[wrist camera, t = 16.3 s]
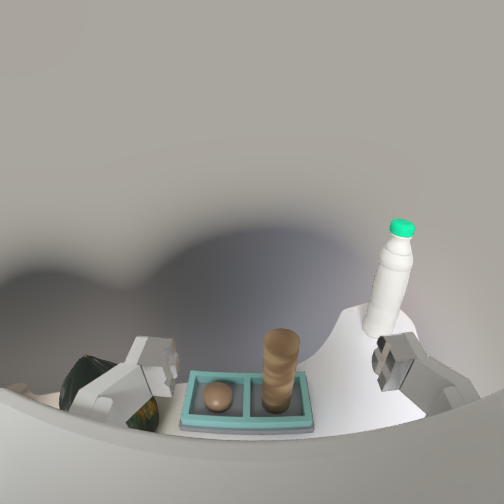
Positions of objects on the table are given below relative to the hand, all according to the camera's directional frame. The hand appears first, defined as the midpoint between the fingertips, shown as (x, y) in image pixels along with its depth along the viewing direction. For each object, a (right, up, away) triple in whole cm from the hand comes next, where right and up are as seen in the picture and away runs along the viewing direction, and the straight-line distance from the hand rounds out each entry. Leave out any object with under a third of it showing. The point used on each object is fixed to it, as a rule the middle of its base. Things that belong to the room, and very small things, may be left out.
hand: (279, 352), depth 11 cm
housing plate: (-2, -21, +31) cm, 37 cm away
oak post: (+3, -20, +30) cm, 36 cm away
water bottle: (+26, -13, +47) cm, 56 cm away
